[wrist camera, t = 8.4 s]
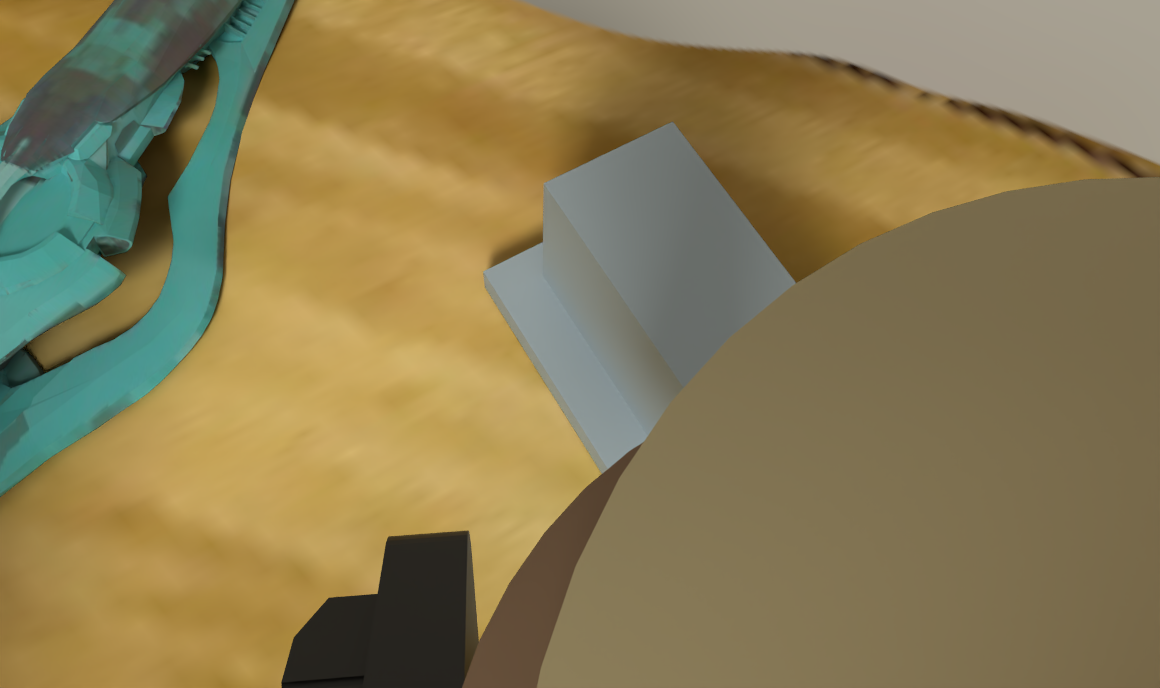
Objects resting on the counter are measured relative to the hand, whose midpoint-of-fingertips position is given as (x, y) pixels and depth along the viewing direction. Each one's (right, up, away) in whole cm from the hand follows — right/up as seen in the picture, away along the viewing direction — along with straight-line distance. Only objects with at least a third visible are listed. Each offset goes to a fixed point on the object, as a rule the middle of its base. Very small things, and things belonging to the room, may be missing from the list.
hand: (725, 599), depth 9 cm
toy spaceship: (-18, +5, +22) cm, 29 cm away
